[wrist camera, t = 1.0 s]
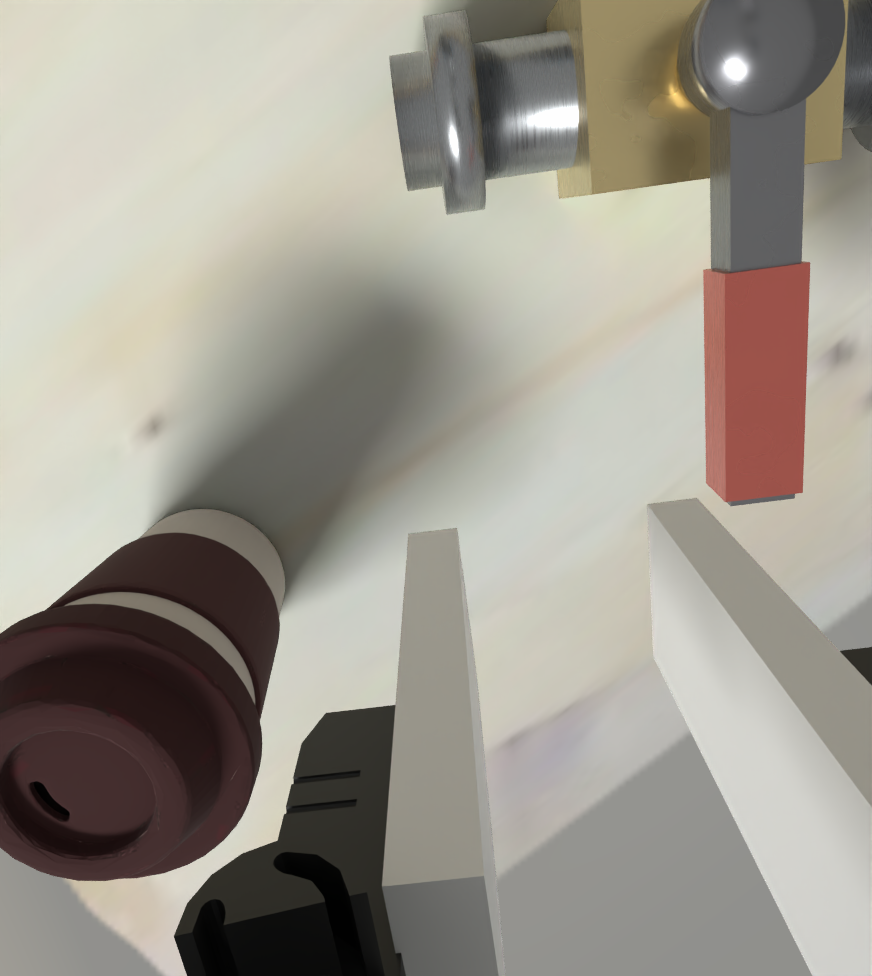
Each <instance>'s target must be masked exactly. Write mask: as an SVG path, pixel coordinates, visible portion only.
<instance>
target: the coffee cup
mask: <svg viewBox="0 0 872 976" xmlns="http://www.w3.org/2000/svg"><path fill="white" fill-rule="evenodd" d="M284 593H285V575H284V570H283V566H282V563H281V560H280V557H279V555H278V553H277V552H276V550H275V548H274V546H273V545H272V543H271V542H270V541H269V540H268V539H267V537H266V536H265V535H264V534H263V533H262V532H261V531H260V530H258V529H257V528H256V527H255V526H254V525H252V524H250V523H249V522H247V521H246V520H244V519H242V518H240V517H238V516H235V515H233V514H231V513H227V512H223V511H219V510H212V509H192V510H187V511H182V512H179V513H175V514H173V515H170V516H168V517H166V518H164V519H162V520H161V521H159V522H158V523H156V524H155V525H154V526H153V527H151V528H150V529H149V530H148V531H147V532H146V533H144V534H143V535H142V536H141V537H140V538H139V539H137V540H135V541H133V542H131V543H129V544H127V545H125V546H123V547H121V548H120V549H119V550H117V551H116V552H114V553H113V554H112V555H111V556H109V557H108V558H107V559H106V560H105V561H104V562H102V563H101V564H100V565H99V566H98V567H96V568H95V569H94V570H93V571H92V572H90V573H89V574H88V575H87V576H86V577H84V578H83V579H82V580H81V581H80V582H78V583H77V584H76V585H75V586H74V587H72V588H71V589H70V590H69V591H68V592H66V593H65V594H64V595H63V596H62V597H60V598H59V599H58V600H57V601H56V602H54V603H53V604H52V605H51V606H50V607H49V608H47V609H46V610H45V611H42V612H39V613H37V614H34V615H32V616H30V617H28V618H25V619H23V620H21V621H19V622H17V623H15V624H14V625H12V626H10V627H9V628H8V629H6V630H5V631H3V632H2V633H1V634H0V848H1V849H3V850H4V851H6V853H8V854H9V855H10V856H12V857H13V858H14V859H16V860H18V861H20V862H22V863H24V864H26V865H28V866H30V867H32V868H34V869H36V870H38V871H40V872H44V873H47V874H50V875H53V876H57V877H62V878H67V879H72V880H77V881H108V880H114V879H122V878H139V877H145V876H151V875H156V874H162V873H166V872H168V871H171V870H174V869H177V868H180V867H182V866H185V865H188V864H190V863H192V862H193V861H195V860H197V859H199V858H201V857H203V856H205V855H206V854H207V853H209V852H210V851H211V850H212V849H214V848H215V847H216V846H217V845H219V844H220V843H221V842H222V841H223V840H224V839H225V838H226V837H227V836H228V835H229V834H230V832H231V831H232V830H233V829H234V828H235V827H236V825H237V824H238V822H239V821H240V819H241V818H242V816H243V814H244V812H245V810H246V807H247V805H248V803H249V800H250V797H251V794H252V790H253V787H254V784H255V781H256V778H257V775H258V771H259V767H260V762H261V755H262V732H261V726H260V718H261V714H262V710H263V705H264V701H265V696H266V692H267V688H268V683H269V679H270V675H271V670H272V666H273V662H274V657H275V653H276V649H277V644H278V639H279V629H280V622H279V615H280V611H281V607H282V603H283V599H284Z"/></svg>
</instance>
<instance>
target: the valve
mask: <svg viewBox="0 0 872 976" xmlns="http://www.w3.org/2000/svg"><path fill="white" fill-rule="evenodd" d="M700 1H701V0H558V1H557V3H556V5H555V6H554V8H553V10H552V11H551V13H550V15H549V16H548V18H547V20H546V25H547V32H545V33H539V34H532V35H525V36H519V37H512V38H505V39H499V40H492V41H485V42H479V43H472V40H471V33H470V28H469V22H468V18H467V14H466V11H465V10H461V11H455V12H448V13H442V14H435V15H428V16H423V26H424V36H425V46H426V51H419V52H412V53H406V54H399V55H392V56H389V58H390V69H391V78H392V87H393V95H394V103H395V110H396V118H397V125H398V132H399V139H400V146H401V153H402V159H403V166H404V172H405V178H406V184H407V189H408V191H412V190H419V189H426V188H433V187H440V186H442V189H443V196H444V203H445V209H446V214H447V215H448V214H455V213H462V212H470V211H477V210H484V209H485V201H486V188H485V180H489V179H496V178H503V177H510V176H517V175H524V174H531V173H538V172H545V171H552V170H557V176H558V189H559V199H560V198H568V197H576V196H584V195H592V194H599V193H606V192H613V191H620V190H627V189H634V188H641V187H648V186H655V185H663V184H670V183H677V182H684V181H691V180H698V179H705V178H710V117H708V116H706V115H705V114H703V113H702V112H700V111H699V110H698V109H697V108H696V107H695V106H694V105H693V104H692V103H691V102H690V100H689V99H688V97H687V96H686V94H685V92H684V90H683V88H682V85H681V82H680V79H679V74H678V67H677V52H678V45H679V41H680V37H681V33H682V31H683V28H684V26H685V23H686V21H687V20H688V18H689V16H690V14H691V13H692V11H693V10H694V8H695V7H696V6H697V5H698V3H699V2H700ZM843 2H844V8H845V33H844V39H843V43H842V47H841V50H840V53H839V56H838V58H837V60H836V63H835V65H834V67H833V68H832V70H831V72H830V73H829V75H828V76H827V78H826V79H825V80H824V82H823V83H822V84H821V85H820V86H819V87H818V88H817V89H816V91H814V92H813V93H812V94H811V95H810V96H809V97H807V98H806V122H805V156H804V164H811V163H818V162H825V161H832V160H839V159H841V156H842V133H843V129H846V128H851V130H852V132H853V134H854V136H855V137H856V139H857V140H858V142H859V143H860V144H861V145H862V146H863V147H864V148H865V149H867V150H869V151H871V152H872V0H843Z"/></svg>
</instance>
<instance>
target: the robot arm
mask: <svg viewBox="0 0 872 976" xmlns="http://www.w3.org/2000/svg"><path fill="white" fill-rule="evenodd" d="M647 515H648V539H649V563H650V587H651V612H652V636H653V657H654V659H655V661H656V663H657V665H658V667H659V669H660V671H661V673H662V675H663V677H664V679H665V681H666V683H667V685H668V687H669V689H670V691H671V693H672V695H673V697H674V699H675V701H676V703H677V705H678V707H679V709H680V711H681V713H682V715H683V717H684V719H685V721H686V723H687V725H688V727H689V729H690V731H691V733H692V735H693V737H694V739H695V741H696V743H697V745H698V747H699V749H700V751H701V753H702V755H703V757H704V759H705V761H706V763H707V765H708V767H709V769H710V771H711V773H712V775H713V777H714V779H715V781H716V783H717V785H718V787H719V789H720V791H721V793H722V795H723V797H724V799H725V801H726V803H727V805H728V807H729V809H730V811H731V813H732V815H733V817H734V819H735V821H736V823H737V825H738V827H739V830H740V832H741V833H742V835H743V838H744V839H745V841H746V843H747V845H748V847H749V850H750V852H751V854H752V856H753V857H754V860H755V861H756V864H757V866H758V867H759V870H760V872H761V873H762V876H763V877H764V880H765V882H766V883H767V886H768V888H769V890H770V892H771V894H772V896H773V897H774V900H775V902H776V904H777V905H778V908H779V910H780V912H781V914H782V915H783V918H784V919H785V922H786V924H787V926H788V928H789V930H790V931H791V934H792V936H793V937H794V940H795V942H796V943H797V946H798V947H799V950H800V952H801V953H802V956H803V958H804V960H805V962H806V964H807V965H808V968H809V970H810V972H811V974H812V976H872V647H869V648H861V649H852V650H844V651H839V650H838V649H837V648H836V647H835V646H834V645H833V644H832V642H831V641H830V640H828V638H827V637H826V636H825V635H824V634H823V633H822V632H821V631H820V630H819V629H818V627H817V626H816V625H815V624H814V623H813V622H812V621H811V620H810V619H809V618H808V617H807V616H806V615H805V614H804V612H803V611H802V610H801V609H800V608H799V607H798V606H797V605H796V604H795V603H794V602H793V601H792V600H791V599H790V597H789V596H788V595H787V594H786V593H785V592H784V591H783V590H782V589H781V588H780V587H779V586H778V585H777V584H776V582H775V581H774V580H773V579H772V578H771V577H770V576H769V575H768V574H767V573H766V572H765V571H764V570H763V568H762V567H761V566H760V565H759V564H758V563H757V562H756V561H755V560H754V559H753V558H752V557H751V556H750V555H749V553H748V552H747V551H746V550H745V549H744V548H743V547H742V546H741V545H740V544H739V543H738V542H737V541H736V540H735V538H734V537H733V536H732V535H731V534H730V533H729V532H728V531H727V530H726V529H725V528H724V527H723V526H722V525H721V523H720V522H719V521H718V520H717V519H716V518H715V517H714V516H713V515H712V514H711V513H710V512H709V511H708V510H707V508H706V507H705V506H704V505H703V504H702V503H701V502H700V501H699V500H698V499H697V498H693V499H685V500H677V501H669V502H661V503H653V504H647ZM293 779H294V784H292V785H291V789H290V793H289V797H288V801H287V805H286V810H287V812H286V814H284V817H283V821H282V825H281V829H280V833H279V837H278V841H276V842H273V843H270V844H267V845H265V846H262V847H259V848H257V849H254V850H251V851H248V852H246V853H243V854H241V855H240V856H238V857H237V858H235V859H234V860H233V861H231V862H230V863H228V864H227V865H225V866H224V867H222V868H221V869H220V870H218V871H217V872H215V873H214V874H212V875H211V876H210V877H209V879H208V880H207V881H206V882H205V883H204V884H203V886H202V887H201V888H200V889H199V890H198V892H197V893H196V894H195V895H194V896H193V897H192V899H191V900H190V901H189V902H188V903H187V905H186V908H185V910H184V913H183V915H182V918H181V920H180V923H179V925H178V928H177V930H176V932H175V935H174V938H175V941H176V944H177V947H178V950H179V953H180V956H181V959H182V962H183V965H184V968H185V971H186V974H187V976H506V975H505V964H504V954H503V943H502V933H501V922H500V913H499V902H498V891H497V880H496V870H495V860H494V849H493V839H492V828H491V818H490V808H489V797H488V787H487V776H486V766H485V755H484V745H483V735H482V724H481V714H480V703H479V693H478V683H477V674H476V666H475V659H474V651H473V644H472V636H471V629H470V621H469V614H468V607H467V599H466V592H465V584H464V577H463V569H462V562H461V554H460V547H459V539H458V532H457V528H452V529H444V530H436V531H428V532H420V533H412V534H408V547H407V560H406V573H405V587H404V600H403V613H402V626H401V640H400V653H399V666H398V679H397V693H396V705H392V706H383V707H375V708H366V709H357V710H349V711H340V712H331V713H326V714H325V715H324V716H323V717H322V719H321V720H320V721H319V722H318V724H317V725H316V726H315V727H314V729H313V730H312V731H311V732H310V734H309V735H308V736H307V738H306V739H305V740H304V741H303V743H302V744H301V748H300V753H299V757H298V761H297V765H296V769H295V773H294V777H293Z"/></svg>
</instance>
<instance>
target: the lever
mask: <svg viewBox="0 0 872 976" xmlns="http://www.w3.org/2000/svg"><path fill="white" fill-rule="evenodd" d="M844 33H845V8H844V2H843V0H701V1H700V2H699V3H698V5H697V6H696V7H695V8H694V10H693V11H692V13H691V14H690V16H689V18H688V20H687V21H686V23H685V26H684V28H683V31H682V33H681V37H680V41H679V45H678V52H677V67H678V74H679V79H680V82H681V85H682V88H683V90H684V92H685V94H686V96H687V97H688V99H689V100H690V102H691V103H692V104H693V105H694V106H695V107H696V108H697V109H698V110H699V111H700V112H702V113H703V114H705V115H706V116H708V117H710V200H711V269H706V270H703V272H704V349H705V426H706V483H707V484H708V485H709V486H710V487H711V488H712V489H713V490H714V491H715V492H716V493H717V494H718V495H719V496H720V497H721V498H722V499H723V500H724V501H725V502H727V503H728V504H729V505H730V506H736V505H744V504H752V503H760V502H768V501H777V500H785V499H793V498H795V494H796V493H803V465H804V434H805V404H806V373H807V343H808V312H809V282H810V262H802V261H801V259H802V225H803V190H804V156H805V122H806V98H807V97H809V96H810V95H811V94H812V93H813V92H814V91H816V89H817V88H818V87H819V86H820V85H821V84H822V83H823V82H824V80H825V79H826V78H827V76H828V75H829V73H830V72H831V70H832V68H833V67H834V65H835V63H836V60H837V58H838V56H839V53H840V50H841V47H842V43H843V39H844Z"/></svg>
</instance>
